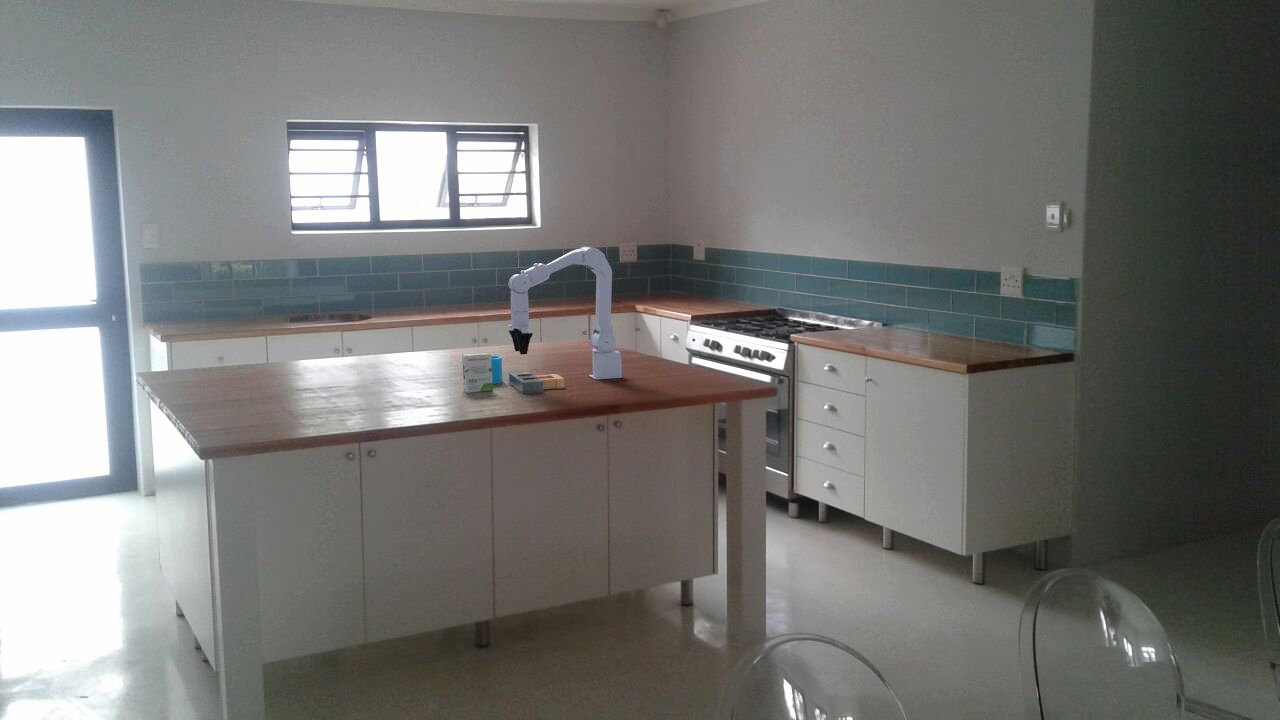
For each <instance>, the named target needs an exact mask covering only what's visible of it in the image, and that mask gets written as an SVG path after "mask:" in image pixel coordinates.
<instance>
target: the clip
mask: <svg viewBox="0 0 1280 720" xmlns="http://www.w3.org/2000/svg"><path fill="white" fill-rule="evenodd" d="M535 376H536V377H537V379H540V380H542V381H543V390H550V389H565V386H566V385H565V378H564V377H562V376H561V375H559V374H557V373H551V374H540V375H539V374H538V375H535Z"/></svg>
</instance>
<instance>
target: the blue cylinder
mask: <svg viewBox="0 0 1280 720" xmlns="http://www.w3.org/2000/svg"><path fill="white" fill-rule="evenodd" d="M502 359H503V357H502V356H501V355H491V361H492V382H493V385H494V384H501V383H503V360H502Z"/></svg>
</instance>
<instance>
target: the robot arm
mask: <svg viewBox="0 0 1280 720" xmlns="http://www.w3.org/2000/svg"><path fill="white" fill-rule="evenodd" d="M571 265H582V266H584V267H586V268H588V269H590V270H591V272H592V273H594V274H595V277H596V283H595V285H596V286H595V318H594V319H595V320H594V321H595V322H594V324H593V328H592V333H591V335H590V337H589V341H590V344H591V346H593V347H592V349H591V350H592V351H591V352H592V374H589V375H588V377H590V378H592V379H594V380H606V379H607V380H609V379H610V380H611V379H620V378H623V376H622V373H623V372H622V371H623V369H622V368H623V367H622V355H621V352H620V351H619V350H615V349H614V348H615V346H616V342H617V341H616V338H615V335H614V329H613V326H612V321H611V320H612V292H613V291H612V286H613V285H612V284H613V283H612V282H613V270H612V267H611V265H610V263H609V262H608V260H607V258H606V255H605V253H604V252H602V251H601V250H600V249H598V248H597V247H590V246H582V247H580V248H577V249H574V250H571V251H569V252H567V253H566V254H564V255H562V256H560V257H558V258H557V259H554V260H553V261H550V262H549V263H547V264H544V263H537V262H536V263H534V264H532V267H530V268H527V269H525V270H523V269H522V270H520V274H519V273H516V274H513V275H512V276H511V277H510V278H509V280H508V282H507V285H508V288H509V289H510V317H511V318H510V320H511V321H510V323H511V324H508V325H507V328H508V329H509V328H512V329H509V330H508V333H509V334H510V336H511V339H512V343H513V348H514V351H515V352H519V354H520V356H522V355H528V351H529V346H530V341H531V338H532V337H533V333H532V332H529V329H530V326H531V324H530V313H529V294H528V292H529V291H528V290H529V289H530V288H533V287H535V286H536V285H539V284H540V283H543V282H545V281H547V280H549V279H550V275H551V274H553V273H555V272H557V271H560V270H562V269H564V268H566V267H568V266H571Z"/></svg>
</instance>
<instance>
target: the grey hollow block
mask: <svg viewBox="0 0 1280 720" xmlns="http://www.w3.org/2000/svg"><path fill="white" fill-rule="evenodd" d="M536 376H537V375H532V373H531V372H530V371H521V372H518V371H517V372H508V380H509V382H508V384H509V385H510V386H512V387H513V388H514V389H516V390H517V391H519V392H520V393H521V394H522V395H524V394H525V395H526V394H537V393H544V389H543V381H542V380H540V379H537V377H536Z"/></svg>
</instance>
